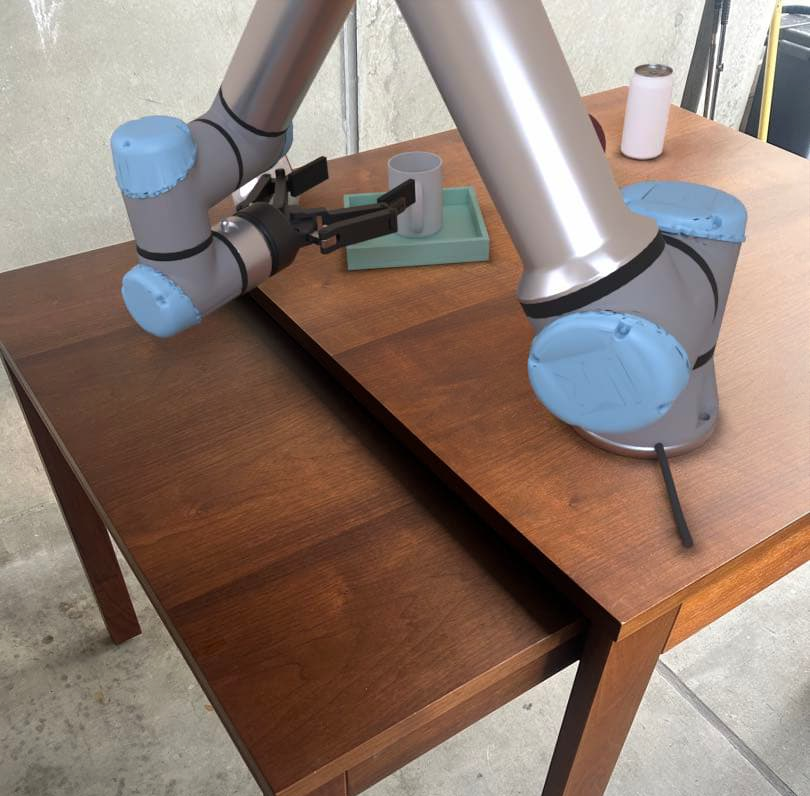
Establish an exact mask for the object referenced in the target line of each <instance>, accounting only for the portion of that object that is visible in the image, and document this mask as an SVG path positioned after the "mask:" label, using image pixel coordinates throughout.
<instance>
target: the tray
mask: <svg viewBox="0 0 810 796" xmlns="http://www.w3.org/2000/svg"><path fill="white" fill-rule="evenodd" d="M387 192H388V191H378V192H364V193H361V192H360V193H349V194H347V193H346V194H343V196H342V197H343V208H347V207H354V206H361V205H368V204H375V203H377V198H379V197H380V196H382V195H384V194H385V193H387ZM490 242H491V240H490V236H489V233H488V230H487V226H486V222H485V220H484V217H483V213H482V210H481V207H480V204H479V201H478V198H477V195H476V191H475V187H474V185H470V186H453V187H443V222H442V227H441V229H440V230H439V232H437V233H436V234H435V235H432V236H430V237H426V238H419V239H411V238H405V237H402V236H399V235H397V234H396V233H393V234H389V235H385V236H382V237H378V238H375V239H371V240H367V241H364V242H360V243H357V244H353V245H349V246H346V247H345V249H346V260H347V270H348V271H357V270H371V269H372V270H374V269H387V268H400V267H402V268H403V267H414V266H415V267H417V266H430V265H431V266H432V265H444V264H460V263H474V262H487V261H490Z"/></svg>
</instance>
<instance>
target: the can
mask: <svg viewBox="0 0 810 796" xmlns="http://www.w3.org/2000/svg"><path fill="white" fill-rule="evenodd" d="M633 70H634V72H633V74H632V75H631V77H630V80H629V85H628V91H627V97H626V98H627V99H626V107H625V111H624V112H625V113H624V120H623V129H622V135H621V141H620V151H621V153H622V155H623V156H624V157H626V158H629V159H633V160H640V161H641V160H642V161H645V160H652V159H655V158H657V157H659V156H660V155H661V154H662V153H663V149H664V144H665V138H666V132H667V126H668V120H669V116H670V115H669V114H670V110H671V104H672V98H673V91H674V85H675V84H674V83H675V80H674V76H673V73H674V69H673V68H672V67H671V66H669V65H666V64H661V63H644V64H640V65H637V66H636V67H635V68H634V69H633Z"/></svg>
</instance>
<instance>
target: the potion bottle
mask: <svg viewBox="0 0 810 796" xmlns="http://www.w3.org/2000/svg"><path fill="white" fill-rule="evenodd" d="M279 168H283V169H285V175H287V174H289V173H291V172H293V171H294V170H293V168H292V165H291V162H290V160H289V158H288V156H287V154H286V155H285V156H284V157H283V158H281V159H280V160H279V161H278V163H277V164H276V165H275V166H274V167H273V168H272V169H270V170H269V171H267V172H265V173H268V174H271V177H272V178H276V175H275V170H276V169H279ZM265 173H262V174H261V175H263V174H265ZM261 175H259V176H258V177H256V178H255V179H253V180H252V181H250V182H249V183H247V184H246V185H244V186H243V187H241V188H240V189H238V190H237V191H235V192H233V193H232V194H231V195H230V196H231V199H232V202H233V205H234V209H236V207H235V206H236V205H238V204H239V203H241V202H242V201H244V200H245V199H246V198H247V196H248V195H249V193H250V192H251V190H252V189H253V187H254V186H255V184H256V183H257V181H258V180H259V178H260V177H261ZM274 195H275V194H274ZM301 195H302V194H301ZM301 195H299V196H297V197H292V196H291V195H290V192H288V205H293V204H295V205H298V206H300V200H301ZM272 203H273V197H272V199H271V201H270V202H269V204H271V205H272Z"/></svg>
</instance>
